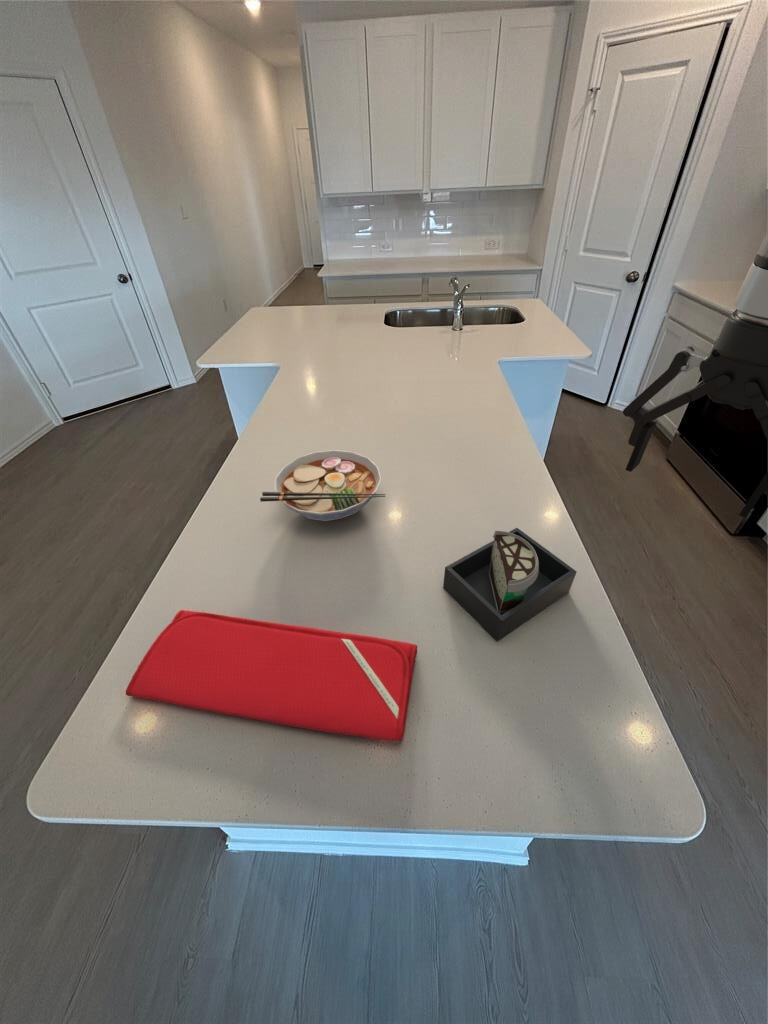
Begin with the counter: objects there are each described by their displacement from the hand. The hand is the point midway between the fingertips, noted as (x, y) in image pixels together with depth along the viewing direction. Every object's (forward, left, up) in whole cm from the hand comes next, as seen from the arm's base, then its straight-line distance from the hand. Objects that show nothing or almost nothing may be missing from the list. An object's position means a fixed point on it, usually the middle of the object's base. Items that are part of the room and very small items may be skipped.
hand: (685, 488), depth 57 cm
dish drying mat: (+23, +52, -27) cm, 63 cm away
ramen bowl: (+54, +26, -27) cm, 66 cm away
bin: (+14, +12, -27) cm, 33 cm away
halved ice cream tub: (+13, +12, -26) cm, 32 cm away
